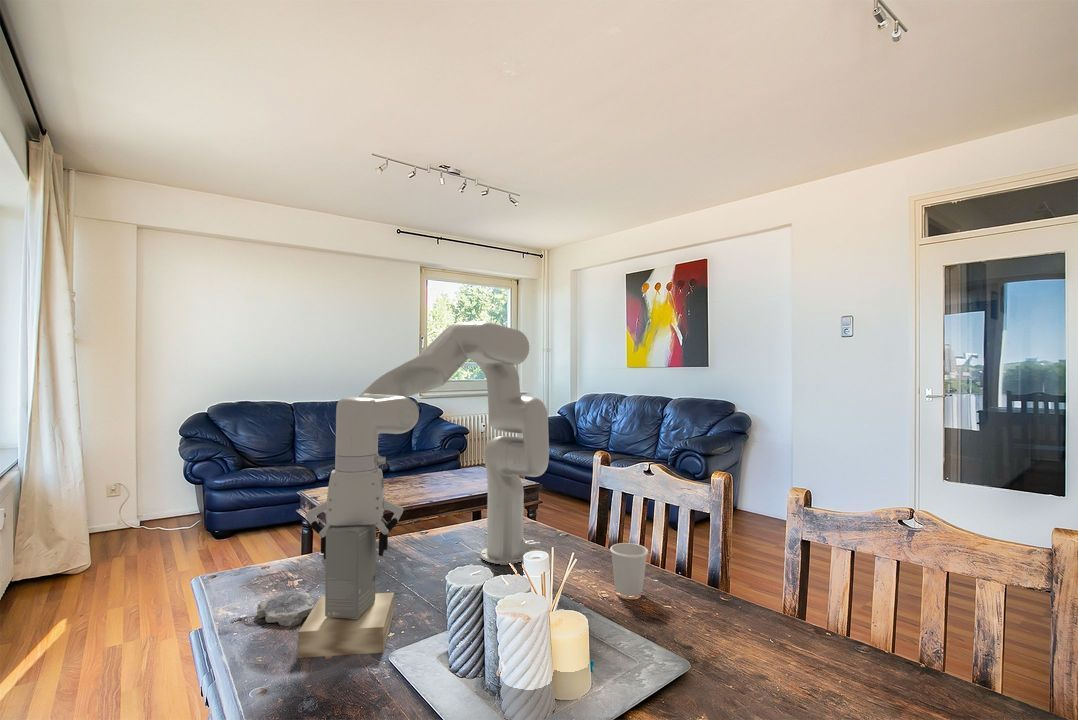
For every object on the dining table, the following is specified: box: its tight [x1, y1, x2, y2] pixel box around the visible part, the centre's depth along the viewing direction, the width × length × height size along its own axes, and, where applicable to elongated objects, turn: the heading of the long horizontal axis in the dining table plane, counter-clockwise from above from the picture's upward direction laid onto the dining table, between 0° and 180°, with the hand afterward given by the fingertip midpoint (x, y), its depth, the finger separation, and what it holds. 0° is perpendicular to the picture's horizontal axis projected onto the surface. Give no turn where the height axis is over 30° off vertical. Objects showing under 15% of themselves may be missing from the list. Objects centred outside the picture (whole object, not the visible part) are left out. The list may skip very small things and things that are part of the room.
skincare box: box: [324, 525, 377, 620], centre depth 97 cm, size 8×7×16 cm
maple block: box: [297, 592, 395, 659], centre depth 96 cm, size 14×14×5 cm
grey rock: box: [256, 591, 315, 627], centre depth 104 cm, size 11×4×10 cm
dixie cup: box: [609, 542, 649, 596], centre depth 115 cm, size 8×8×10 cm
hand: (354, 555), depth 97 cm, fingers open, 9 cm apart
